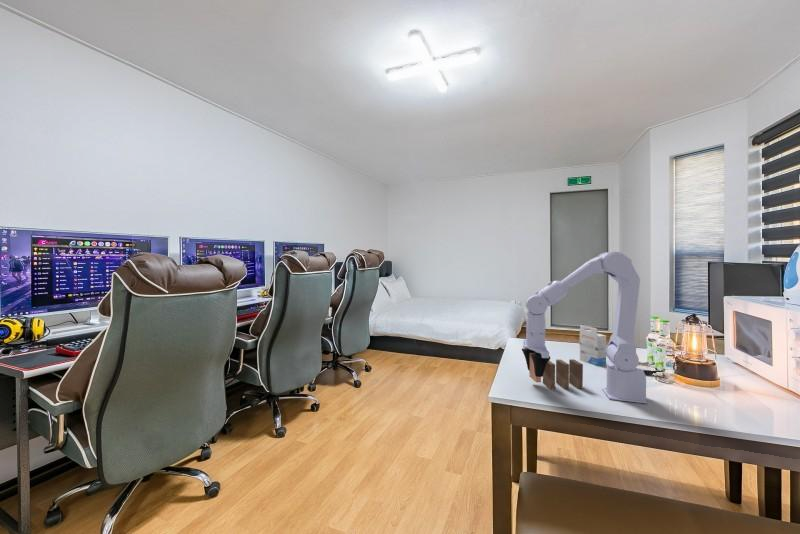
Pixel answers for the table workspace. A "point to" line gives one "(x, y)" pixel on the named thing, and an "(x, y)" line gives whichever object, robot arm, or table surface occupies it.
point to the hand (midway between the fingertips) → (535, 373)
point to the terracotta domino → (532, 372)
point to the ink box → (592, 346)
